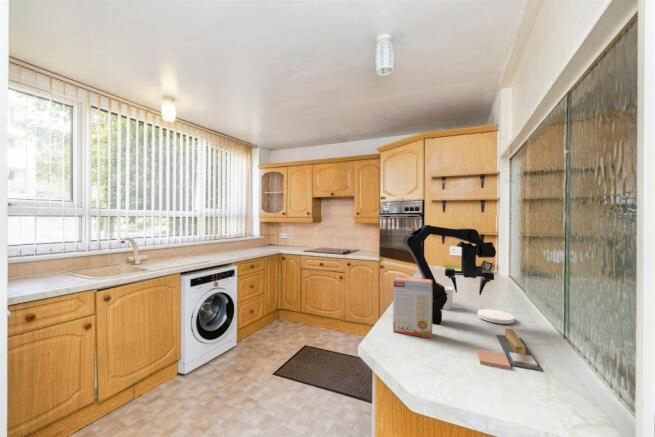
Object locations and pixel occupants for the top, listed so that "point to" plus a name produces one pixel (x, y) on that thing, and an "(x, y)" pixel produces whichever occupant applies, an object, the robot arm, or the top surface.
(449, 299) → the white cup
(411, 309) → the cracker box
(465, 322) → the top surface
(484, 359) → the tile
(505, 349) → the mat
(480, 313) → the white gear
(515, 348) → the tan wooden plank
